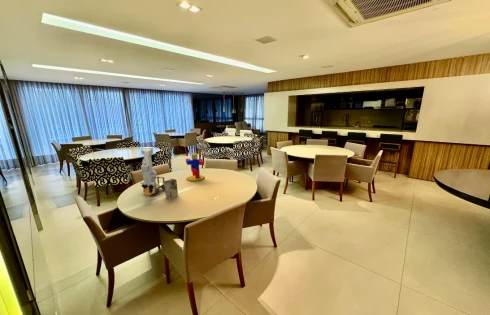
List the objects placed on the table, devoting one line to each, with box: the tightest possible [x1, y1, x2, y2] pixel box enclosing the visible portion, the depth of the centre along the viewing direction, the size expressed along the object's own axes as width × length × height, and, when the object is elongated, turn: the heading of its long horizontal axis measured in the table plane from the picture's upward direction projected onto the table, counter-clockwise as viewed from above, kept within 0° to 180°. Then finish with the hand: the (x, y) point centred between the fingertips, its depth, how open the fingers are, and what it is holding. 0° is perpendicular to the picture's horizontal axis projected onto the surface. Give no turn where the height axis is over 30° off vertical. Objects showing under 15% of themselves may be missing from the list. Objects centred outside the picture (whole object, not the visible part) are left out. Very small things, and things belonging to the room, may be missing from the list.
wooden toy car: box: [142, 176, 165, 196], centre depth 189 cm, size 17×14×13 cm
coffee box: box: [164, 178, 179, 200], centre depth 177 cm, size 9×6×16 cm
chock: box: [143, 188, 155, 196], centre depth 175 cm, size 5×7×6 cm
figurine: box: [185, 153, 206, 183], centre depth 224 cm, size 22×22×30 cm
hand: (148, 192), depth 174 cm, fingers closed on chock, 5 cm apart
